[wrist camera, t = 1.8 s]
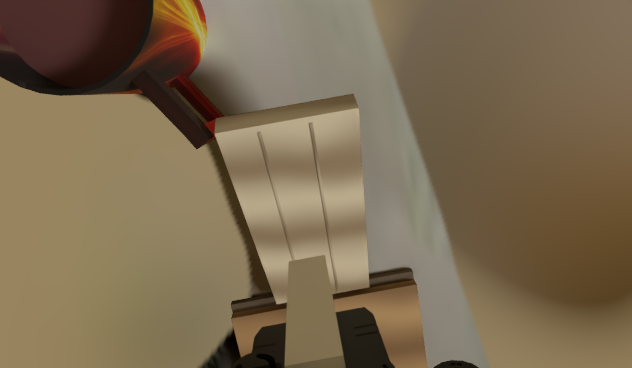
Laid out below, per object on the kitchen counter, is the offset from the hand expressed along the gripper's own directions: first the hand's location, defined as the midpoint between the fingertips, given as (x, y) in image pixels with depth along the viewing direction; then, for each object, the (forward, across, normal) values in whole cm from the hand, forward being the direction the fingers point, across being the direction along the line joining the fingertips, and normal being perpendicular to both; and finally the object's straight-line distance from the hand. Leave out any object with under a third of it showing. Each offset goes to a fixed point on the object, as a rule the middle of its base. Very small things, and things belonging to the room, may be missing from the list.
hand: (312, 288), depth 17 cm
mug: (+18, -8, +13) cm, 24 cm away
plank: (+13, 0, 0) cm, 13 cm away
